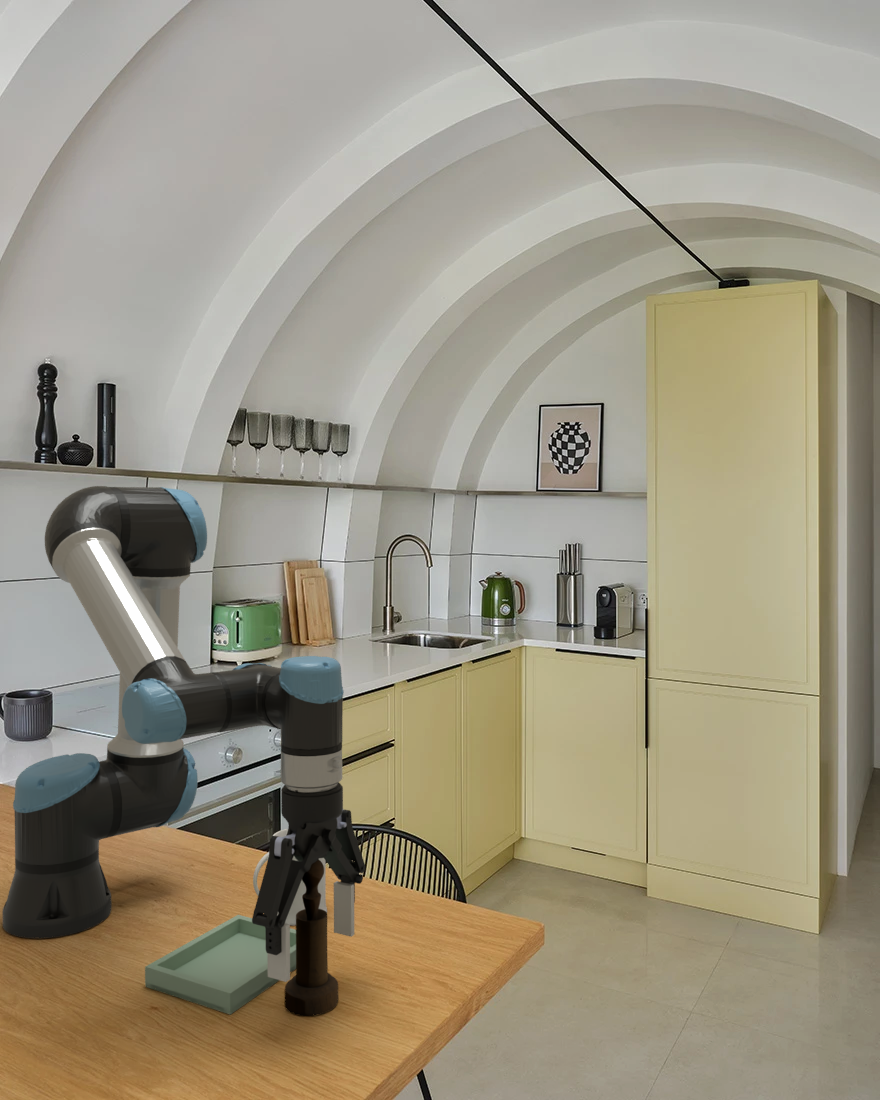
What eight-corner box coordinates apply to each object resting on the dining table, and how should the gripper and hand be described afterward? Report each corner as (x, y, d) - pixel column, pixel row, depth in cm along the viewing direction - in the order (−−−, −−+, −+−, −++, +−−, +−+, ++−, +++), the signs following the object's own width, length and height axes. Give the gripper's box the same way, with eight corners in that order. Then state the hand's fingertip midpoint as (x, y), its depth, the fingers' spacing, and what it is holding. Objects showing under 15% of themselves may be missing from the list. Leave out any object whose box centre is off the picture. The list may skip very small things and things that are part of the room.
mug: (262, 936, 134) (262, 853, 134) (241, 914, 142) (241, 836, 141) (336, 917, 141) (336, 838, 140) (312, 898, 148) (312, 823, 148)
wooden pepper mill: (313, 984, 121) (313, 846, 120) (349, 1001, 116) (349, 858, 116) (273, 1004, 115) (273, 860, 115) (309, 1023, 111) (310, 873, 111)
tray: (145, 986, 120) (145, 966, 120) (238, 932, 136) (238, 914, 135) (230, 1014, 113) (230, 993, 113) (317, 953, 129) (317, 935, 129)
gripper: (272, 815, 102) (273, 1007, 103) (390, 764, 124) (391, 922, 125) (219, 806, 106) (221, 991, 106) (343, 758, 128) (344, 912, 128)
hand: (313, 955), depth 116 cm, fingers open, 13 cm apart
